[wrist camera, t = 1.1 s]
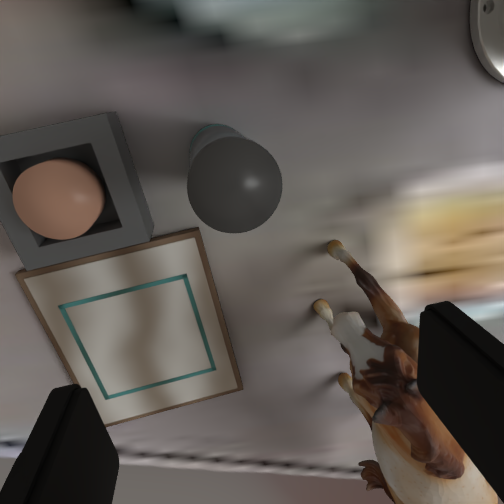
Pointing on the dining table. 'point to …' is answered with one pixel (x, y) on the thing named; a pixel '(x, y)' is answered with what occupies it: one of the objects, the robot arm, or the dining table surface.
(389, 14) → the dining table surface
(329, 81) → the dining table surface
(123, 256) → the board
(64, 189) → the button
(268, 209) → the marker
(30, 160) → the button base
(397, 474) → the horse figurine
